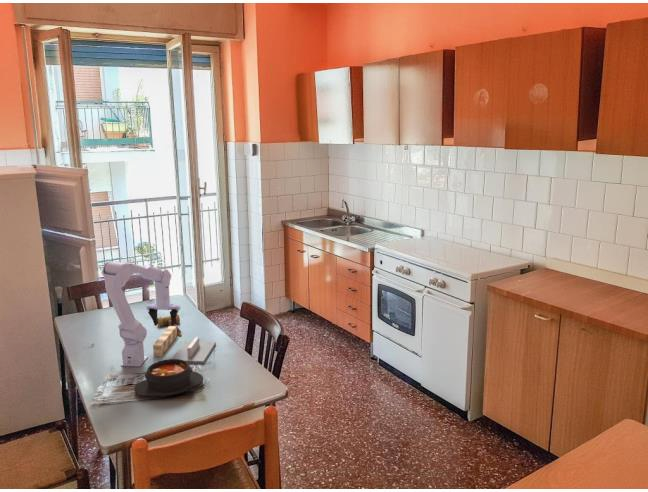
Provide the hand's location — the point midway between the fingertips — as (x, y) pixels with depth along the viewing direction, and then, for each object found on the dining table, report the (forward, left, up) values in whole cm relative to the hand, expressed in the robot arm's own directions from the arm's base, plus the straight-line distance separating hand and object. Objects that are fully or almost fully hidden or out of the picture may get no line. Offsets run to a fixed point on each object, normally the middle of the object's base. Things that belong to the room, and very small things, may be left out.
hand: (164, 325), depth 238 cm
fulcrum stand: (-8, -15, -9) cm, 19 cm away
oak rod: (0, 0, -10) cm, 10 cm away
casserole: (-39, -15, -10) cm, 43 cm away
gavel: (+19, +3, -10) cm, 22 cm away
